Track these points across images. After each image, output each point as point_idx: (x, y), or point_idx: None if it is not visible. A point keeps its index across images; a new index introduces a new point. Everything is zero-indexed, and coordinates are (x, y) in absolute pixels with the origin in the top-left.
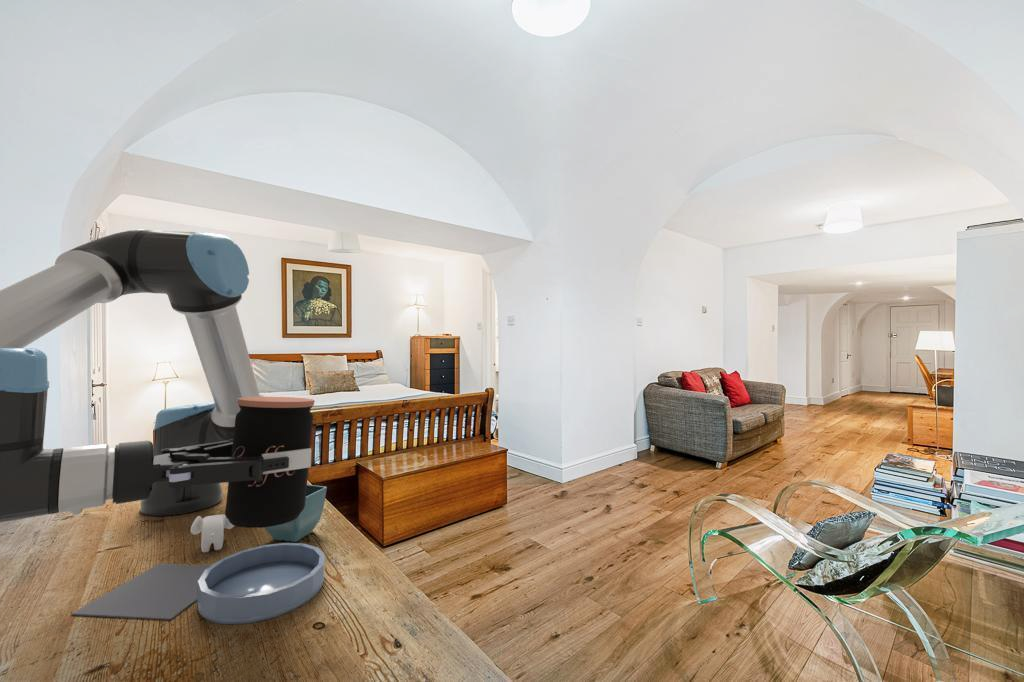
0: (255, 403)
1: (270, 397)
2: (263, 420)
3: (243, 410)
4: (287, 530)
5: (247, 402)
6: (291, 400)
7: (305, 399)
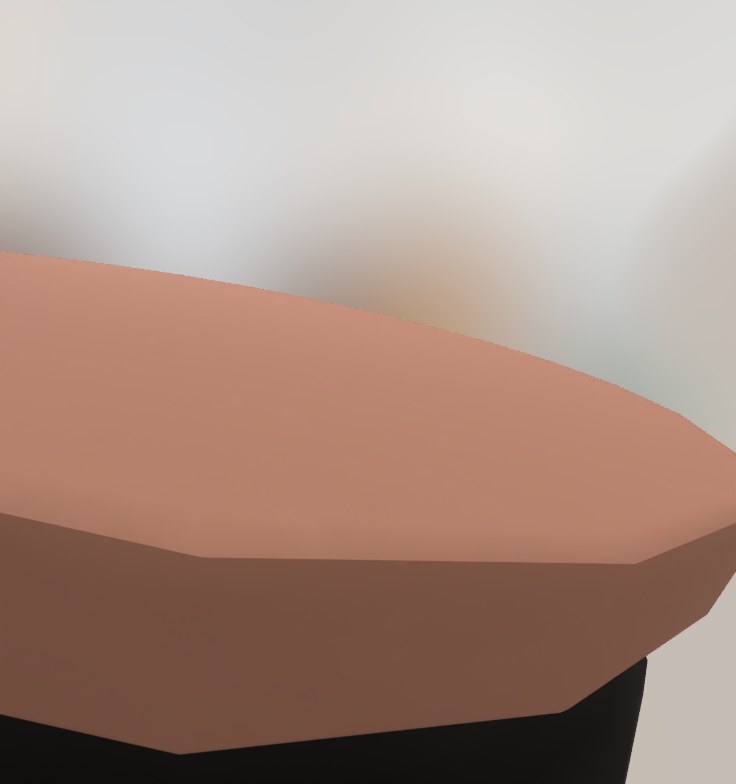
0: (706, 586)
1: (88, 274)
2: (629, 756)
3: (170, 771)
4: None
5: (561, 632)
6: (495, 358)
7: (384, 318)
